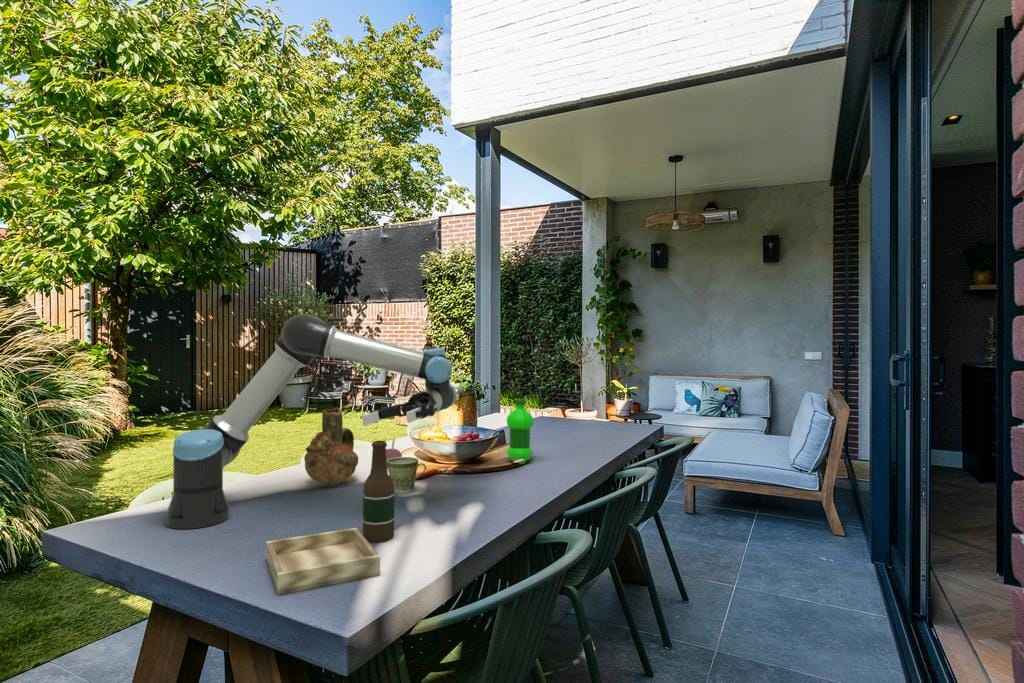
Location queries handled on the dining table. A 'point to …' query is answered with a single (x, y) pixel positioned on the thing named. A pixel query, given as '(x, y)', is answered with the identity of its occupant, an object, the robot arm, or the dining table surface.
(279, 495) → the dining table surface
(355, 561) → the oak tray
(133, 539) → the dining table surface
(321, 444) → the ceramic vessel
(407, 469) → the ceramic cup
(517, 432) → the plastic bottle
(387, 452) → the cupcake
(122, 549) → the dining table surface
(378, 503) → the beer bottle
